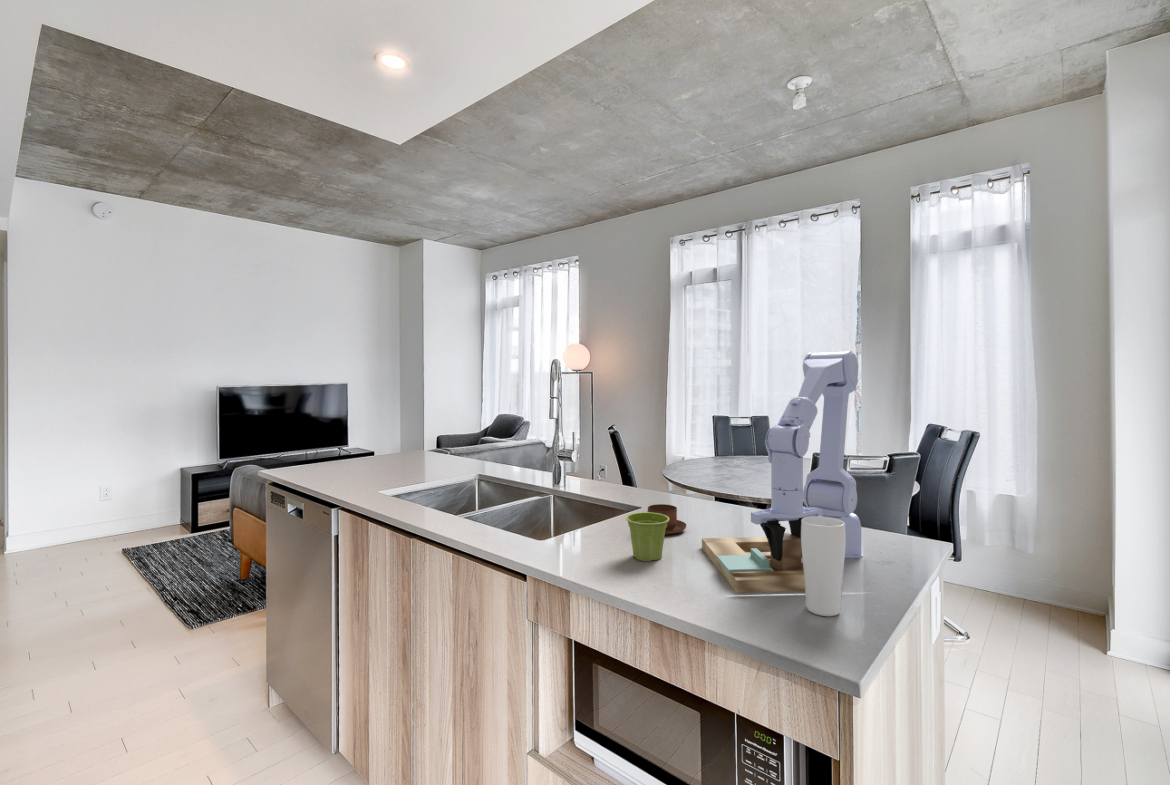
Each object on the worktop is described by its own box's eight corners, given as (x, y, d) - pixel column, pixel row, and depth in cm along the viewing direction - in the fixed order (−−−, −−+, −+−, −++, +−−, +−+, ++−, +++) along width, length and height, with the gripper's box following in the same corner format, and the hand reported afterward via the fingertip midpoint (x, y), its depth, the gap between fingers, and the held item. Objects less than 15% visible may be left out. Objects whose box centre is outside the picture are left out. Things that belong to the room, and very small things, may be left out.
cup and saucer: (629, 532, 139) (629, 508, 139) (655, 522, 148) (655, 500, 148) (670, 541, 131) (669, 515, 131) (695, 530, 140) (695, 506, 140)
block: (788, 563, 109) (788, 533, 109) (801, 569, 105) (800, 538, 105) (770, 565, 108) (770, 534, 108) (782, 571, 104) (782, 540, 104)
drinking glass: (793, 603, 94) (793, 516, 94) (831, 601, 95) (831, 515, 94) (813, 620, 87) (813, 527, 87) (854, 618, 88) (854, 525, 88)
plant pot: (674, 553, 122) (674, 514, 121) (662, 567, 113) (662, 525, 113) (634, 548, 126) (634, 510, 125) (619, 561, 117) (619, 520, 117)
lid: (756, 558, 110) (756, 547, 110) (771, 573, 102) (771, 560, 102) (717, 559, 110) (717, 548, 110) (728, 573, 102) (728, 561, 102)
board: (784, 547, 125) (784, 534, 125) (840, 591, 99) (840, 574, 99) (701, 548, 125) (701, 535, 125) (736, 593, 99) (736, 577, 99)
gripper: (806, 481, 111) (806, 548, 112) (742, 486, 108) (742, 554, 108) (830, 488, 104) (830, 559, 105) (762, 493, 101) (762, 566, 101)
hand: (787, 557), depth 106 cm, fingers closed on block, 4 cm apart
